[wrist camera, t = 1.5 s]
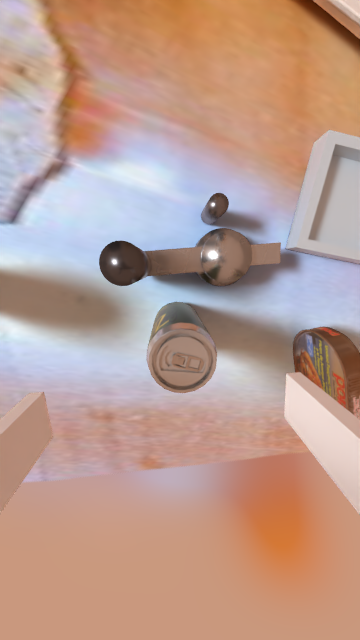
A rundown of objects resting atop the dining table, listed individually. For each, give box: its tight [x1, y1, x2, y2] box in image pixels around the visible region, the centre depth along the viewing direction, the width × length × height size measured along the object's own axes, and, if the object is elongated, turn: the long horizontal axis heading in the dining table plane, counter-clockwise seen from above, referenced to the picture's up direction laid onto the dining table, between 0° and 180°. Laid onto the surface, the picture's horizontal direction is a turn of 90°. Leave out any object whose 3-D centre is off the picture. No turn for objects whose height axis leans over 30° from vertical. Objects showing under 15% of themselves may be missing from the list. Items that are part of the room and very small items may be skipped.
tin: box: [293, 327, 360, 419], centre depth 27 cm, size 15×3×8 cm, turn 12°
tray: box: [285, 130, 360, 264], centre depth 25 cm, size 11×11×2 cm
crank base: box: [195, 193, 239, 286], centre depth 25 cm, size 19×6×5 cm, turn 170°
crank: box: [99, 230, 281, 286], centre depth 20 cm, size 16×5×9 cm, turn 95°
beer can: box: [147, 302, 217, 393], centre depth 22 cm, size 5×5×12 cm
